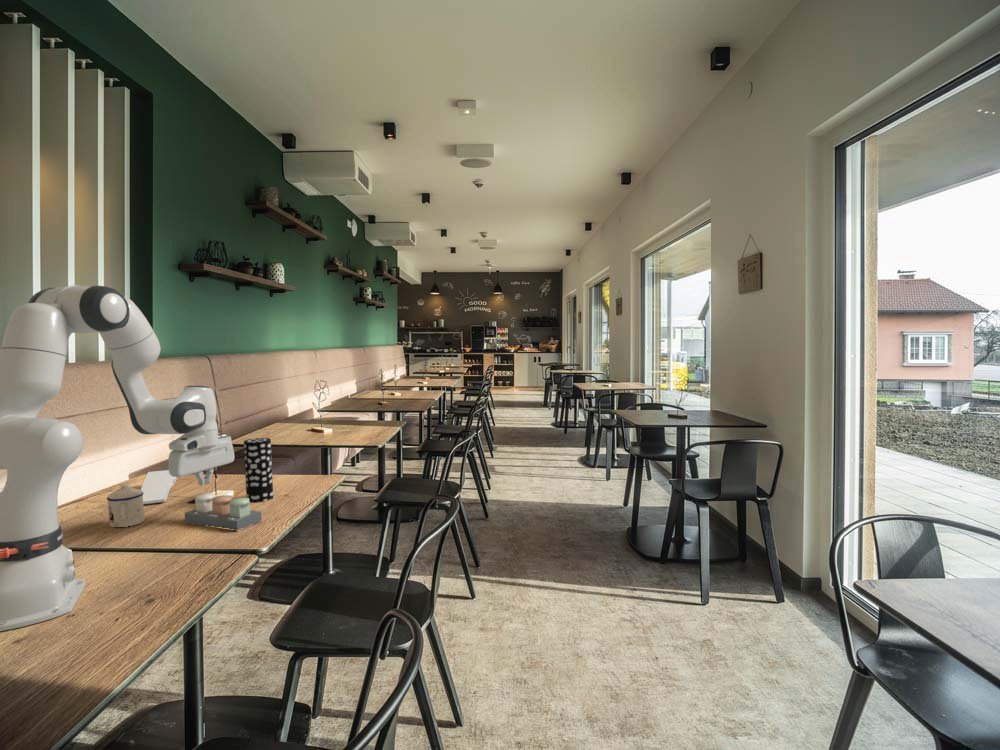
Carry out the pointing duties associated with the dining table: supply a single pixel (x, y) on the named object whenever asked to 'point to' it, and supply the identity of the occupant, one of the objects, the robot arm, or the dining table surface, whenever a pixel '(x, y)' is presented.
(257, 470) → the spotted tube
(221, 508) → the pink dome knob
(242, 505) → the button two dots
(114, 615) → the dining table surface
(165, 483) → the wall bracket
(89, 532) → the dining table surface
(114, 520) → the teacup with lid
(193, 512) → the button panel
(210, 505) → the button one dot
